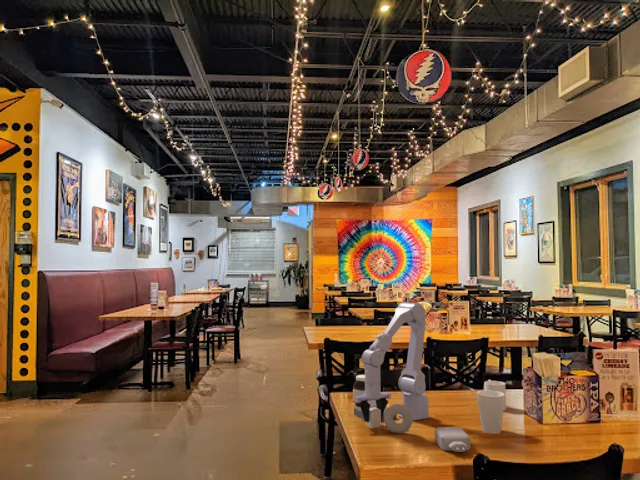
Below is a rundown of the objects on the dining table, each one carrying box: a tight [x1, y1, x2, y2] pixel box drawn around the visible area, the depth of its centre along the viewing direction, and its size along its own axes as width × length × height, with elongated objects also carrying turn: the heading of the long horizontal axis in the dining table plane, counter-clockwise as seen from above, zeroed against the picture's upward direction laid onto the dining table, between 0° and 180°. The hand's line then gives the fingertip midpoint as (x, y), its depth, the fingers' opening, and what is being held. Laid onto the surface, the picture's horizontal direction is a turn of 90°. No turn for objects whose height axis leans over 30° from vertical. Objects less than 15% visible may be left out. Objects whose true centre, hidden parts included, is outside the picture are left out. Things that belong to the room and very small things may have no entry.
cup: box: [483, 379, 507, 411], centre depth 209 cm, size 8×12×10 cm
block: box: [365, 407, 382, 429], centre depth 183 cm, size 4×4×6 cm
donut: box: [383, 403, 413, 435], centre depth 174 cm, size 10×4×10 cm, turn 82°
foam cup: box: [476, 389, 505, 435], centre depth 177 cm, size 10×9×13 cm
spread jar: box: [352, 374, 376, 406], centre depth 212 cm, size 12×11×12 cm
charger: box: [434, 426, 472, 453], centre depth 159 cm, size 5×9×15 cm
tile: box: [353, 405, 398, 422], centre depth 195 cm, size 12×12×2 cm
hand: (373, 420), depth 183 cm, fingers open, 5 cm apart
